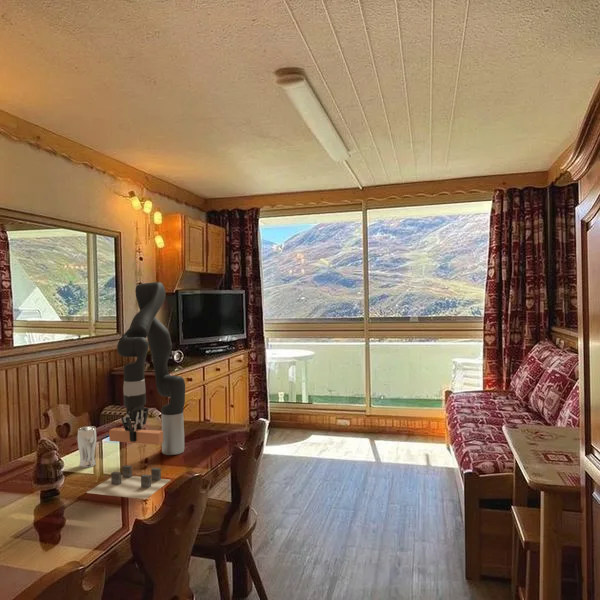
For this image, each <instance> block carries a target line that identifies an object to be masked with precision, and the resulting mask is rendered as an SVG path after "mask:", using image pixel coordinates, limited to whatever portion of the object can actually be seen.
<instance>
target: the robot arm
mask: <svg viewBox="0 0 600 600" xmlns="http://www.w3.org/2000/svg"><path fill="white" fill-rule="evenodd" d="M134 291H135V297H136V302H137V305H138V308H139V311H138V312H137V313H136V314H135V315H134V316H133V318H132V320H131V322H130V325H129V328H128V329H127V330H126V331H125V332H124V334H123V335H122V336H121V337H120V338H119V340H118V343H117V346H116V350H117V353H118V355H119V356H120V357H123V358H135V357H136V360H135V361H134V362H129V363H126V364H125V365H124V367H123V388H122V390H123V391H122V392H123V406H124V407H125V408H126V412H125V414H126V415H125V416H122V417H121V420H120V421H121V422H122V426H123V428H125V431H129V432H130V441H131V442H135V441H136V429H142V430H143V428H144V425H146V424H147V418H148V413H149V408H148V407H144V406H146V404H147V394H146V393H147V391H146V390H147V389H146V382H145V380H146V379H145V366H146V365H145V364H146V359H147V356H148V352H149V351H150V354H151V358H152V359H151V361H152V364H153V370H154V377H155V378H154V379H155V385H156V390H157V392H158V394H159V395H160V396H161V397H167V398H169V403H167V404H164V405H162V406H161V431H163V442H162V443H161V453H162V455H166V456H174V455H176V456H177V455H180V454H182V453H184V451H185V428H184V427H185V426H184V422H185V421H184V407H185V403H186V382H185V379H184V377H183V376H179V375H171V374H170V372H169V369H168V362H169V358H170V356H171V354H172V349H173V343H172V339H171V335H170V333H171V332H170V331H169V330H168V328H167V327H166V326H165V325H164V324H163V323H162V322H161V321H160V320H159V319H158V318H157V317H156V316H157V314H158V313H159V311H160V309H161V308H162V306H163V304H164V303H165V300H166V295H167V293H166V289H165V286H164V284H163V282H159V281H155V282H154V281H153V282H145V283H139V284H137V285H136V286H135V289H134Z"/></svg>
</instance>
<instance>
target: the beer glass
mask: <svg viewBox="0 0 600 600" xmlns="http://www.w3.org/2000/svg"><path fill="white" fill-rule="evenodd" d="M96 429H97V427H96V426H94V425H93V426H92V425H89V426H81V427H80V428H77V448H78V452H79V456H80V457H79V458H80V460H79V464H78V465H79V466H78V467H79V468H81V469H87V468H88V469H89V468H92V467H94V466H96V464H97V463H96V459H95V457H96V456H95V455H96V454H95V453H96V445H97V430H96Z"/></svg>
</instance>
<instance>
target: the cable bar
mask: <svg viewBox="0 0 600 600" xmlns="http://www.w3.org/2000/svg"><path fill="white" fill-rule="evenodd" d="M108 433H109V434H108V435H109V442H118V443H132V444H144V445H145V444H146V445H156V446H157V445H162V442H163V431H162V430H157V429H156V430H153V429H143V428H142V429H136V441H135V442H131V441H130V432H129V431H125V428H124V427H113V428H110V429H109V430H108Z"/></svg>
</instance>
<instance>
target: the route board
mask: <svg viewBox="0 0 600 600" xmlns="http://www.w3.org/2000/svg"><path fill="white" fill-rule="evenodd" d="M121 471H122V472H121ZM121 471H113V472H111V473H110V475H111V476H110V478H108V479H106V480H105V481H103V482H101V483H99V484H98V485H96V486H95V487H93V488H91V489H90V490H87V491H86V494H94V495H102V496H112V497H120V498H129V499H139V500H147V499H148V498H149V497H151V496H152V495H154V494H155V493H156V492H157V491H159V490H160V489H161V488H162V487H164V486H165V485H167V484H168V483H169V482H170V481H171V479H168V478H167V479H166V478H162V469H161V467H152V468H151V469H150V473H151V474H145V473H144V474H141V475H140V476H138V475H137V476H136V475H133V465H130V464H128V465H127V464H124V465H122V470H121Z"/></svg>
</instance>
